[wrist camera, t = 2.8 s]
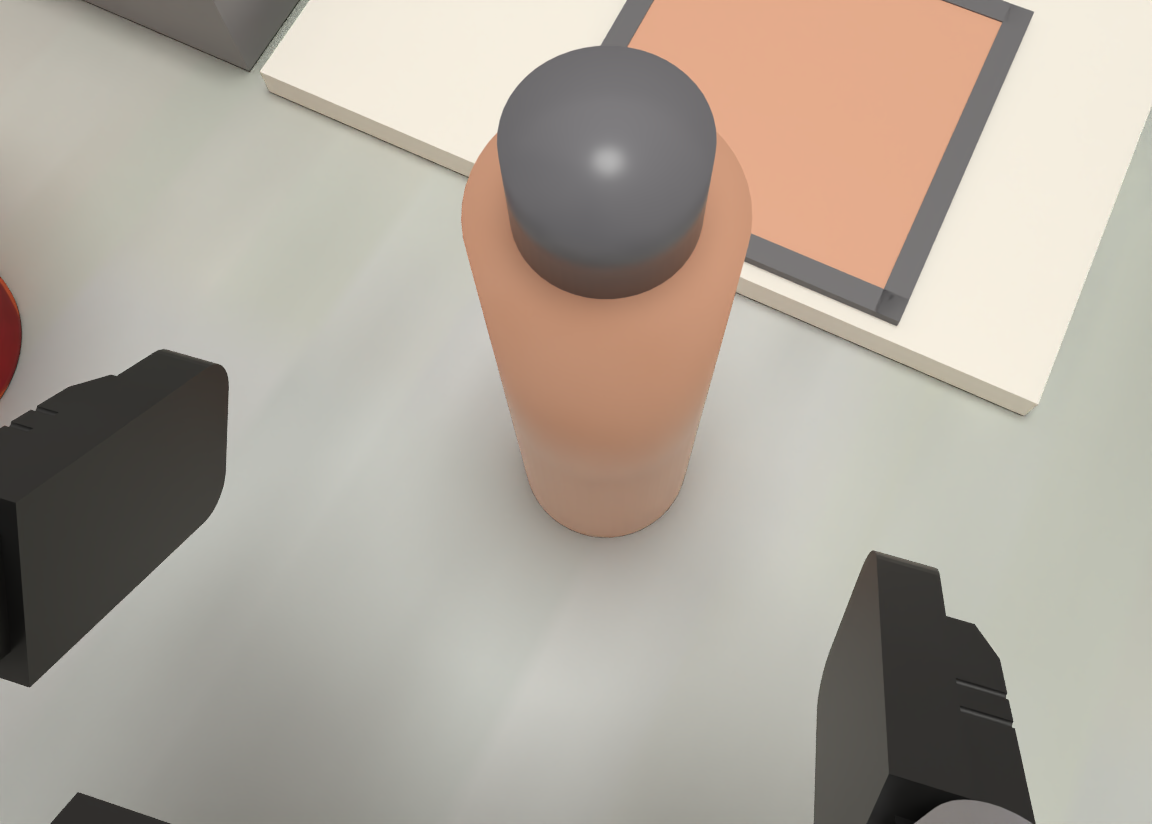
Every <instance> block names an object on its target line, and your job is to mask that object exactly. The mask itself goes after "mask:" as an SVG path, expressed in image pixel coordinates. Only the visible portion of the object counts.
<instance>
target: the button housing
mask: <svg viewBox="0 0 1152 824" xmlns="http://www.w3.org/2000/svg"><path fill="white" fill-rule="evenodd" d="M84 1H87V2H89V3H91V4H94V5H96V6H98V7H101V8H103V9H105V10H108V11H110V12H112V13H115V14H117V15H119V16H122V17H124V18H126V19H129V20H131V21H133V22H136V23H138V24H140V25H143V26H145V27H147V28H150V29H152V30H154V31H157V32H159V33H161V34H164V35H166V36H168V37H171V38H173V39H175V40H178V41H180V42H182V43H185V44H187V45H189V46H192V47H194V48H196V49H199V50H201V51H203V52H206V53H208V54H210V55H213V56H215V57H217V58H220V59H222V60H224V61H227V62H229V63H231V64H234V65H236V66H238V67H241V68H243V69H245V70H248V71H250V70H251V68H252V67H253V65H254V64H255V62H256V61H257V60H258V58H259V57H260V55H261V54H262V52H263V51H264V50H265V48H266V47H267V45H268V44H269V42H270V41H271V40H272V38H273V37H274V35H275V34H276V32H277V31H278V30H279V28H280V27H281V25H282V24H283V22H284V21H285V20H286V18H287V17H288V15H289V14H290V12H291V11H292V10H293V8H294V7H295V5H296V4H297V2H298V1H299V0H84Z"/></svg>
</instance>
